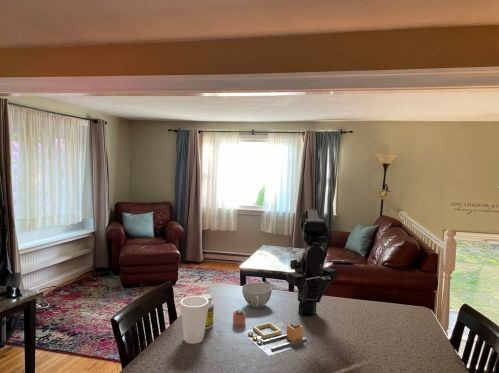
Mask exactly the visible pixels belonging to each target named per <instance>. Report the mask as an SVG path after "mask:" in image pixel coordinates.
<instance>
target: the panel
mask: <svg viewBox="0 0 499 373" xmlns="http://www.w3.org/2000/svg"><path fill="white" fill-rule="evenodd" d="M272 324H273V325H274V326H276V327H277V328H279V329H280V330H281V331H282V332H281V334H280V335H276V336H272V337H269V338H265V339H264V338H263V337H261V336H260V335H259V334H258V333H256V332H255V331H254V330H253V328H251V329H247V330H244V331H242V332H241V333H242V334H243V335H244V336H246V337H247V338H248V339H249V340H250V341H251V342H252V343H253V344H255V345H256V346H257V347H258V348H259V349H260V350H261V351H262V352H264V354H266V355H267V356H269V357H271V356H273V355H277V354H279V353H283V352H285V351H289V350H293V349H295V348H298V347H302V346H306V345H309V344H312V343H314V341H313V340H311V339H310V338H308V337H307V336H306V335H305V334H303V337H302V339H299V340H295V341H290V340H289V339H288V338H287V325H289V323H287V322H285V320H284V321H279V322H276V323H272ZM259 330H260V331H261V332H263V333H264V334H267V333H271V332H275V330H274V329H272V328H271V327H270V326H269V327H265V328H261V329H259Z"/></svg>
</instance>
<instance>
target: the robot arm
mask: <svg viewBox="0 0 499 373" xmlns="http://www.w3.org/2000/svg"><path fill="white" fill-rule="evenodd" d="M319 211H320V210H319V209H315V208H310V209H309V208H307V209H305V212H304V213H303V214H301V215H300V220H299V221H300V223H299V229H301V235H302V236H303V238H302V239H303V242H304V257H302V258H301V261H298V259H292V260H290V263H289V265H290V266H289V267H290V270H294V272H288V274H286V276H285V277H286V278H285V279H286V280H285V281H286V282H287V283H288V284H291V285H292V286H294V287H296V288H297V302H299V304H298V309H297V311H298V315H300V316H301V317H314V316H315V315H317V316H320V315H319V314H318V313H317V303H318V304H320V302H321V301H322V300H321V299H322V298H323V296H324V294H325V292H326V291H327V289H328V288H329V286H330V285H331V284H332V283H333V280H334V281H335V280H338V279H339V278H338V276H339V275H338V273H339V272H337V270H336V269H334V268H331V267H328V266H325V267H323V266H322V264H325V260H326V253H325V250H324V248H323V243H325V244H326V243H327V244H328V240H329V236H330V235H329V227H328V224H327V223H326V222H325V220H324V219H322V216H321V215H320V213H319ZM298 271H300V273H299V272H298ZM301 273H302V274H301Z"/></svg>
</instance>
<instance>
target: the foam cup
mask: <svg viewBox="0 0 499 373" xmlns="http://www.w3.org/2000/svg"><path fill="white" fill-rule="evenodd" d="M179 302H180V303H179V309H180V314H181V323H182V331H183V332H182V334H183V338H184V339H183V340H184V342H185V343H187V344H192V345H193V344H199V343H201V342H203V340H204V336H205V331H206V329H205V325H206V318H207V312H208V308H209V301H208V299H207V298H205V297H201V296H200V295H192V296H186V297H184V298H182V299H180V301H179Z"/></svg>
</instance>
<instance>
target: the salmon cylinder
mask: <svg viewBox="0 0 499 373" xmlns="http://www.w3.org/2000/svg"><path fill="white" fill-rule="evenodd" d="M232 314H233V315H232V325H233V327H236V328H243V327H246V326H245V325H246V312H245V311H244V310H243V309H237V310H235V311H233V313H232Z"/></svg>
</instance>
